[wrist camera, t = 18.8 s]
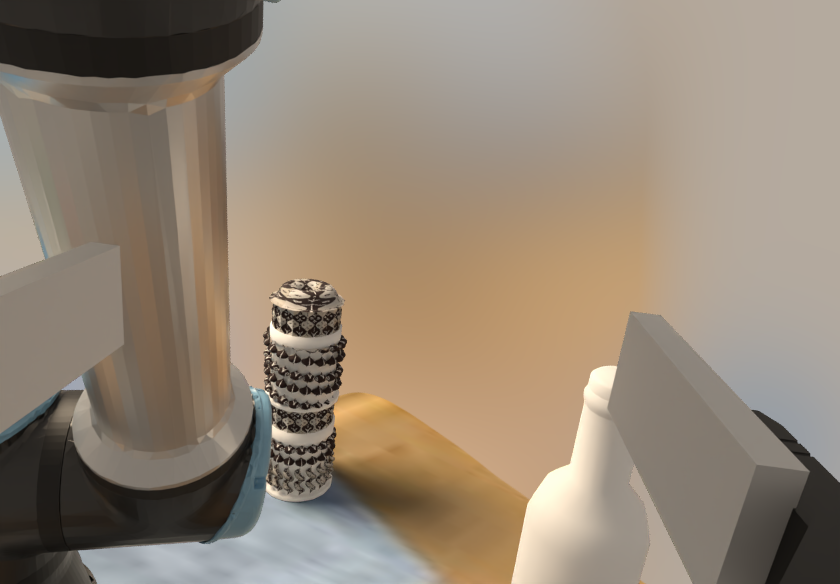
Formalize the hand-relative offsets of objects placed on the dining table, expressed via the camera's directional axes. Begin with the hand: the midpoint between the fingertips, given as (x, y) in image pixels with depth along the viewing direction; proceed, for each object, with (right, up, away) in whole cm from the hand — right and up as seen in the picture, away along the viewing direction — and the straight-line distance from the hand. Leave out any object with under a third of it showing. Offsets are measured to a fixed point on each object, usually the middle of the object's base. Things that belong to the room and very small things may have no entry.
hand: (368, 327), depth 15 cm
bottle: (+10, -33, +29) cm, 45 cm away
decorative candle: (-14, -22, +57) cm, 63 cm away
